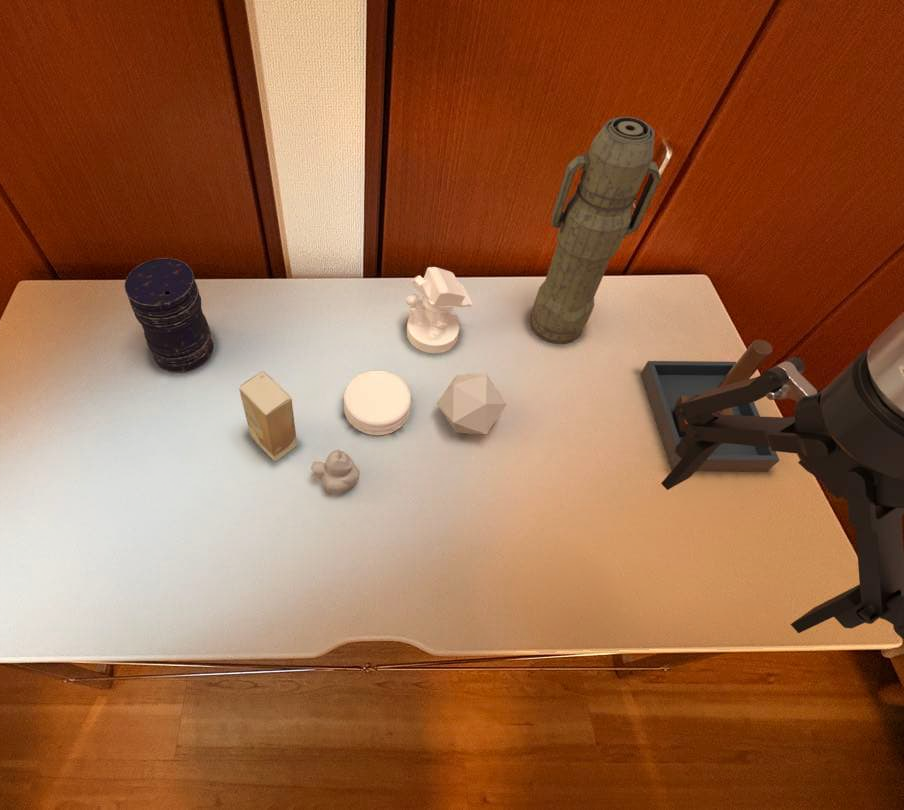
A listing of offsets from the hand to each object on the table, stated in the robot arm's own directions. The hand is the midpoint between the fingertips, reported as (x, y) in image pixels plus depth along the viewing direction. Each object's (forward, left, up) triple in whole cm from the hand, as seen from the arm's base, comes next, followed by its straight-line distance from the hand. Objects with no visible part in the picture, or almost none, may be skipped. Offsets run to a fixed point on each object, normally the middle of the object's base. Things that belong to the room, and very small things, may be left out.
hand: (736, 545), depth 50 cm
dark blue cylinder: (+68, +31, -29) cm, 80 cm away
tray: (+18, -33, -29) cm, 47 cm away
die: (+35, -2, -29) cm, 45 cm away
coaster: (+43, +9, -29) cm, 53 cm away
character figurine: (+52, -7, -29) cm, 60 cm away
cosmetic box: (+45, +25, -29) cm, 59 cm away
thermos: (+44, -26, -29) cm, 59 cm away
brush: (+18, -31, -28) cm, 45 cm away
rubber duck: (+35, +20, -29) cm, 50 cm away
